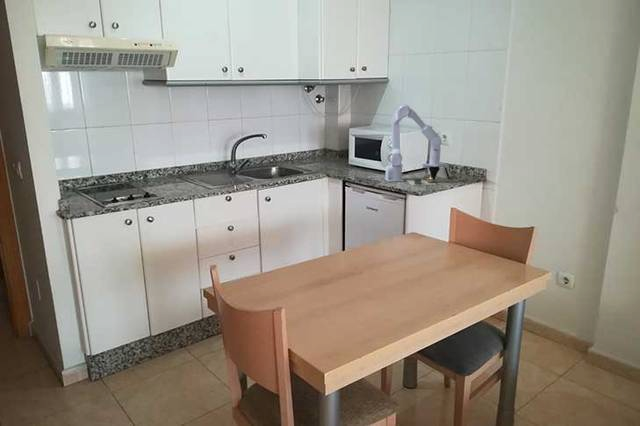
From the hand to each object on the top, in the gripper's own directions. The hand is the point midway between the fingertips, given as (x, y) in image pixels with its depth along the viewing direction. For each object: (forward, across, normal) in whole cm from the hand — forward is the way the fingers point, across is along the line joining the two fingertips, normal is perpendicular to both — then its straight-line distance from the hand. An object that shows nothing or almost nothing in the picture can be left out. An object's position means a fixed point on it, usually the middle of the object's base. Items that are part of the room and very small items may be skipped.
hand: (433, 179), depth 284 cm
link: (+1, -3, 0) cm, 3 cm away
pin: (-1, -3, -4) cm, 5 cm away
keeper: (+1, -12, -5) cm, 13 cm away
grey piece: (+2, +9, +16) cm, 19 cm away
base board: (+1, -8, -2) cm, 8 cm away
